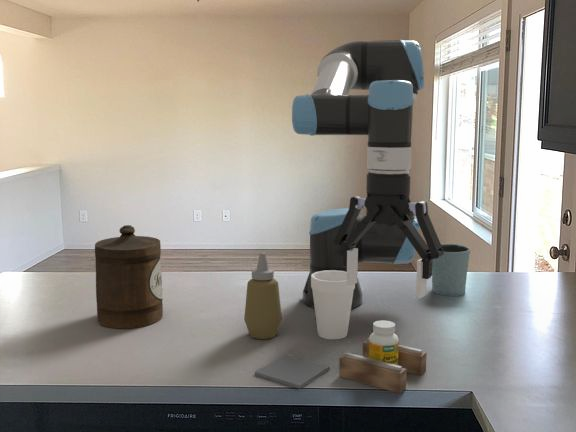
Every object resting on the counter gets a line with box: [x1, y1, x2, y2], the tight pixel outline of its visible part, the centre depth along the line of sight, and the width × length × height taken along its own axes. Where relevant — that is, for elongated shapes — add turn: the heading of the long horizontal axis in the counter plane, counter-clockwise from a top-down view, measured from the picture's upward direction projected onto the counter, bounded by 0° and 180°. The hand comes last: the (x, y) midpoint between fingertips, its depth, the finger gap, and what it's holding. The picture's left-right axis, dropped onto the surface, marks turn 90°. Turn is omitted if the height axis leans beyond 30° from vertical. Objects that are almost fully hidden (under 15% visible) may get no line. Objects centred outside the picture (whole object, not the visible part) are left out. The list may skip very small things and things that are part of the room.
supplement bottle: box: [368, 319, 400, 365], centre depth 112 cm, size 5×5×10 cm
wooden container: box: [94, 224, 164, 330], centre depth 141 cm, size 15×15×22 cm
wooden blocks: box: [338, 337, 428, 394], centre depth 112 cm, size 12×11×4 cm
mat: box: [254, 353, 331, 389], centre depth 113 cm, size 10×10×1 cm
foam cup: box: [311, 270, 355, 340], centre depth 131 cm, size 10×9×13 cm
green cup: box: [431, 243, 471, 297], centre depth 162 cm, size 10×10×12 cm
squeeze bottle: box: [243, 252, 283, 340], centre depth 130 cm, size 8×8×18 cm
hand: (385, 290), depth 109 cm, fingers open, 13 cm apart
